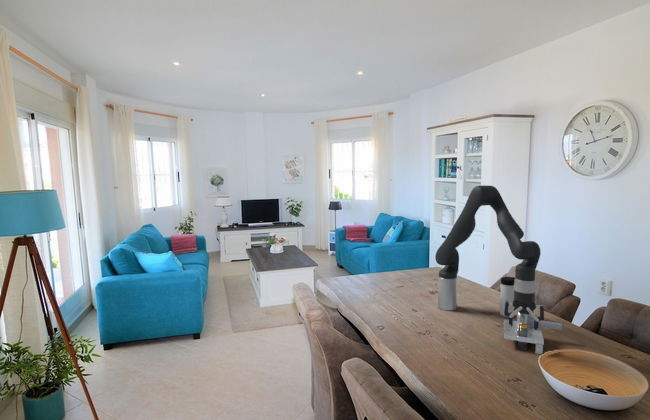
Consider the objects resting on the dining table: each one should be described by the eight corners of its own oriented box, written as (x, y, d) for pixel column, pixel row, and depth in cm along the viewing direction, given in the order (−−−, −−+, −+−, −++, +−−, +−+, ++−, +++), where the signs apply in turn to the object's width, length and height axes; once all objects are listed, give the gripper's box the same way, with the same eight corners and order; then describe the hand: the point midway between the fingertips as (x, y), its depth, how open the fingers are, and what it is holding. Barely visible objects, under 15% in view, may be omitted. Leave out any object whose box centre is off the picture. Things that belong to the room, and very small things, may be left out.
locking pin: (518, 348, 146) (518, 325, 145) (517, 345, 149) (518, 322, 148) (527, 350, 144) (528, 327, 143) (526, 346, 147) (527, 323, 146)
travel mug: (516, 318, 175) (517, 279, 173) (501, 317, 177) (502, 279, 174) (512, 313, 181) (513, 275, 179) (498, 312, 183) (499, 275, 181)
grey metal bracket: (504, 348, 146) (504, 316, 145) (503, 331, 161) (504, 302, 160) (567, 359, 137) (569, 324, 135) (560, 340, 151) (561, 309, 150)
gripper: (505, 290, 144) (504, 328, 145) (546, 294, 137) (544, 334, 139) (504, 284, 150) (503, 321, 152) (543, 288, 144) (542, 326, 146)
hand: (523, 327), depth 146 cm, fingers open, 8 cm apart
